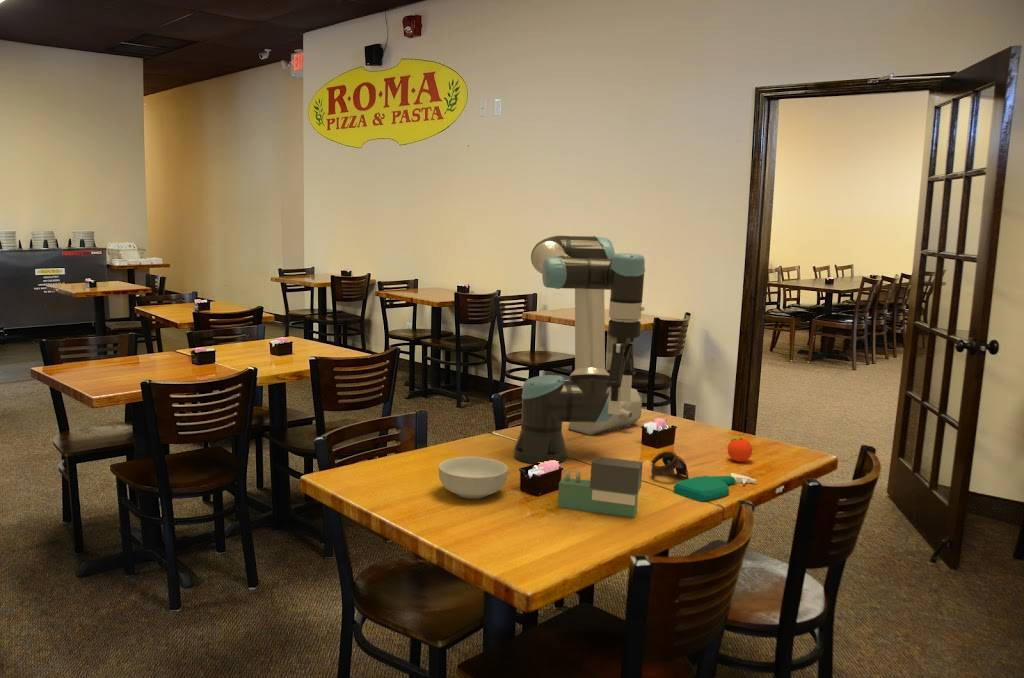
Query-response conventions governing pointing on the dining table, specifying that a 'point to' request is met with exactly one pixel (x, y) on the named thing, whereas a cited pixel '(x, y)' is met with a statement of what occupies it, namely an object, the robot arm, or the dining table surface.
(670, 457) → the brown arched frame
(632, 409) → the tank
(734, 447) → the tomato
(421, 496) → the dining table surface
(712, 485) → the spray bottle
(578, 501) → the board
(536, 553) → the dining table surface
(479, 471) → the cereal bowl
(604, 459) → the block
